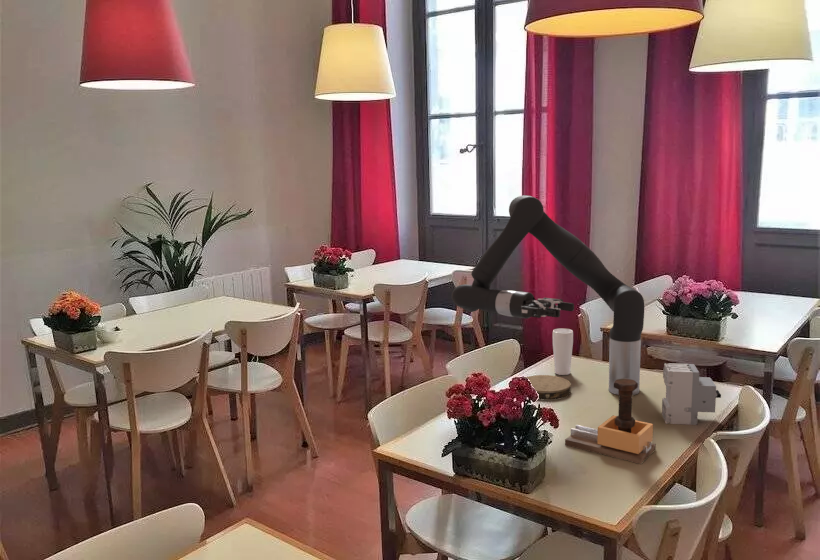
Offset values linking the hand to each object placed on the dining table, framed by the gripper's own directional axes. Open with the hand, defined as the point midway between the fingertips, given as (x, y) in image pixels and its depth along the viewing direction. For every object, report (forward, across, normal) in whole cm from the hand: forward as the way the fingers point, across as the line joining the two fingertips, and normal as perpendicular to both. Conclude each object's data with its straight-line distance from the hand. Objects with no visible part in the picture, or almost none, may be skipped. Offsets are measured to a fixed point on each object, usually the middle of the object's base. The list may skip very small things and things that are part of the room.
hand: (566, 310), depth 191 cm
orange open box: (+21, -10, +30) cm, 38 cm away
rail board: (+17, -10, +32) cm, 38 cm away
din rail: (+17, -10, +31) cm, 36 cm away
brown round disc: (-16, +19, +33) cm, 41 cm away
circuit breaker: (+28, +20, +32) cm, 47 cm away
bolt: (+21, -10, +29) cm, 37 cm away
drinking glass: (-20, +38, +32) cm, 54 cm away
